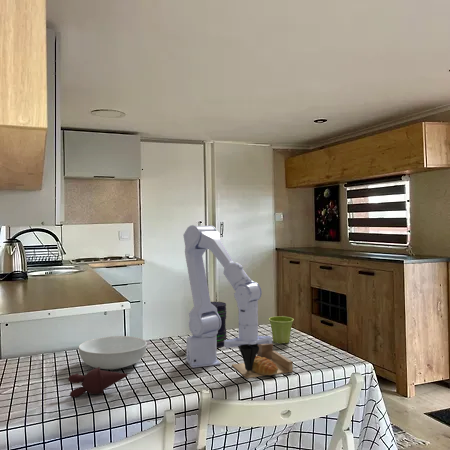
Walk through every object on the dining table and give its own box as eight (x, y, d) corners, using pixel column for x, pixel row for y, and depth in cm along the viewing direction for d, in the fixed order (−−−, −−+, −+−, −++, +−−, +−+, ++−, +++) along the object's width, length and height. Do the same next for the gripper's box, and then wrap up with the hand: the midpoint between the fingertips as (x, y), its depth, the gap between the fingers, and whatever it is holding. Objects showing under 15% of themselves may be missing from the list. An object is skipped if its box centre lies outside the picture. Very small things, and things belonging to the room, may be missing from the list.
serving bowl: (142, 375, 128) (142, 352, 128) (70, 377, 127) (69, 354, 127) (150, 354, 149) (150, 334, 149) (88, 356, 148) (88, 335, 148)
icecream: (124, 360, 122) (67, 372, 116) (127, 361, 115) (67, 374, 109) (127, 386, 120) (70, 399, 115) (131, 389, 113) (70, 402, 108)
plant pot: (297, 340, 165) (297, 317, 165) (287, 346, 157) (287, 322, 157) (275, 337, 170) (275, 315, 170) (264, 343, 162) (264, 319, 162)
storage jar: (195, 342, 163) (195, 303, 163) (218, 339, 168) (218, 300, 168) (207, 349, 155) (207, 307, 155) (231, 345, 159) (231, 304, 159)
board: (246, 378, 125) (246, 367, 125) (231, 365, 137) (231, 355, 137) (292, 371, 130) (292, 361, 130) (275, 360, 141) (275, 350, 141)
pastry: (283, 373, 128) (283, 360, 128) (267, 378, 124) (266, 365, 124) (261, 365, 135) (261, 353, 135) (245, 370, 131) (245, 357, 131)
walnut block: (261, 360, 142) (261, 345, 142) (257, 357, 145) (257, 342, 145) (273, 359, 143) (273, 344, 143) (268, 355, 147) (267, 340, 147)
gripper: (229, 328, 122) (230, 377, 122) (276, 324, 127) (276, 371, 127) (221, 323, 129) (222, 369, 129) (266, 319, 134) (266, 364, 134)
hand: (248, 369), depth 128 cm, fingers closed
